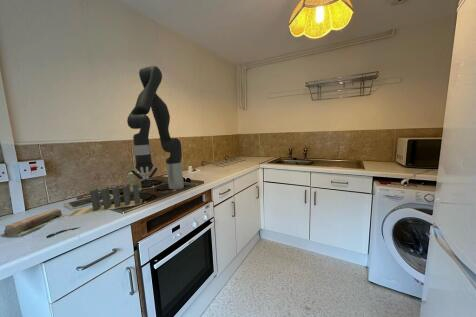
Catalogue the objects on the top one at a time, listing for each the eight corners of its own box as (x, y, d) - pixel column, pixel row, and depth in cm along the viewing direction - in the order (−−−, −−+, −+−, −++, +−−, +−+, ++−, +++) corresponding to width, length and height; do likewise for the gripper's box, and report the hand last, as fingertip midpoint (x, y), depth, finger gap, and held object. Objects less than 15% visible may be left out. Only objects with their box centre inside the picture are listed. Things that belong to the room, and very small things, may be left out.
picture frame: (108, 195, 121) (64, 206, 105) (107, 191, 120) (63, 201, 105) (117, 200, 111) (71, 213, 95) (116, 195, 110) (70, 207, 95)
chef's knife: (105, 218, 86) (102, 217, 87) (105, 216, 86) (101, 214, 87) (49, 240, 69) (45, 238, 71) (48, 237, 69) (45, 235, 71)
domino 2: (111, 205, 99) (108, 186, 97) (108, 208, 94) (105, 189, 93) (106, 205, 98) (103, 187, 97) (104, 209, 93) (101, 189, 92)
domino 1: (93, 211, 92) (89, 190, 90) (96, 207, 96) (93, 188, 95) (97, 210, 92) (94, 190, 91) (100, 206, 97) (97, 187, 96)
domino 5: (140, 200, 103) (137, 182, 102) (139, 203, 99) (136, 184, 98) (136, 201, 103) (133, 183, 101) (135, 204, 98) (132, 185, 97)
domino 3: (121, 203, 100) (118, 185, 99) (119, 206, 96) (116, 187, 94) (117, 204, 100) (114, 185, 98) (114, 207, 95) (111, 188, 94)
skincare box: (130, 192, 124) (127, 173, 123) (131, 190, 128) (129, 172, 127) (140, 190, 126) (138, 172, 124) (142, 189, 130) (140, 171, 128)
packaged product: (18, 226, 72) (-3, 225, 73) (21, 238, 72) (0, 237, 74) (67, 207, 89) (50, 207, 91) (69, 217, 90) (52, 216, 91)
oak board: (142, 201, 105) (142, 199, 105) (141, 205, 98) (141, 203, 98) (75, 212, 95) (75, 209, 94) (68, 218, 87) (68, 216, 87)
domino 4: (130, 202, 102) (128, 183, 101) (129, 205, 97) (126, 186, 96) (126, 202, 101) (124, 184, 100) (125, 205, 97) (122, 186, 95)
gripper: (156, 152, 105) (160, 182, 107) (129, 154, 100) (133, 186, 103) (156, 153, 98) (160, 185, 101) (127, 155, 93) (131, 189, 96)
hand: (146, 185), depth 102 cm, fingers closed
